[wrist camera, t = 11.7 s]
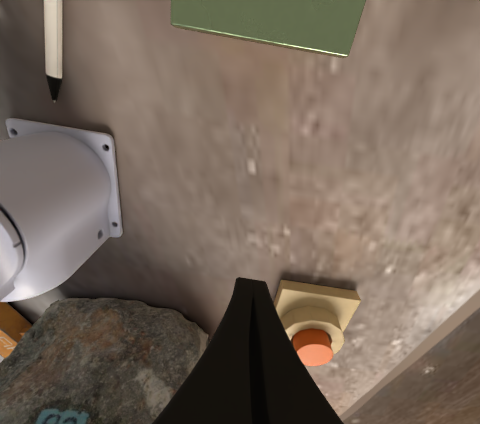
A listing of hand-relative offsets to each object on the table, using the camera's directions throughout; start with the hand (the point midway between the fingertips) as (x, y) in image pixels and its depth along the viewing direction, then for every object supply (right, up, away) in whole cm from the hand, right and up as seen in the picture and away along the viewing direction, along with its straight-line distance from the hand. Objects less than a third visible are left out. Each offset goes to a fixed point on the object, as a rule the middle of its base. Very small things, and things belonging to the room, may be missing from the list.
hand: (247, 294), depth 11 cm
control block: (+7, -8, +15) cm, 19 cm away
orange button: (+7, -9, +13) cm, 17 cm away
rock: (-13, -9, +17) cm, 23 cm away
